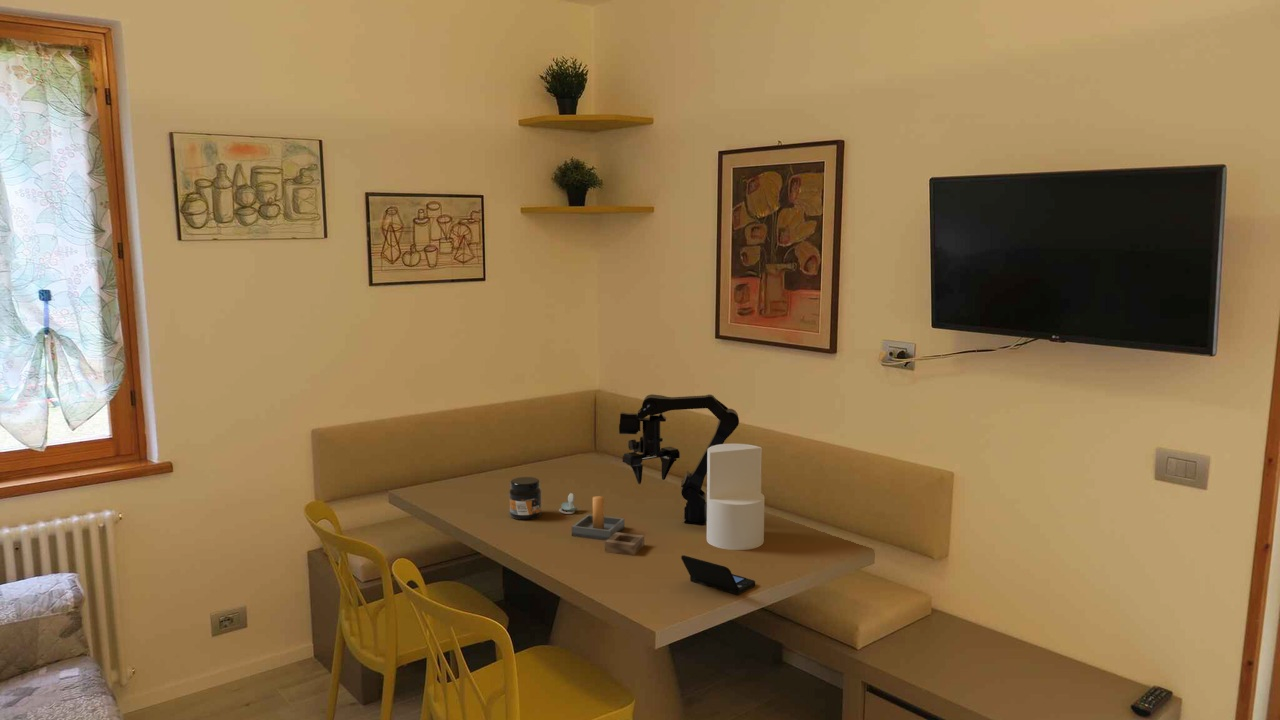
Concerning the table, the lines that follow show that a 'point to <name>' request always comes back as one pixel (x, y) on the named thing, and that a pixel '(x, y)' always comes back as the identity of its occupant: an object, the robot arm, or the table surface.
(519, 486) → the supplement container
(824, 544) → the table surface
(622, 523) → the tray
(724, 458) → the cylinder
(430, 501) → the table surface
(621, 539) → the socket block
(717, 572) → the game console
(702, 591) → the table surface
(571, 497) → the pacifier
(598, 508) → the pin
